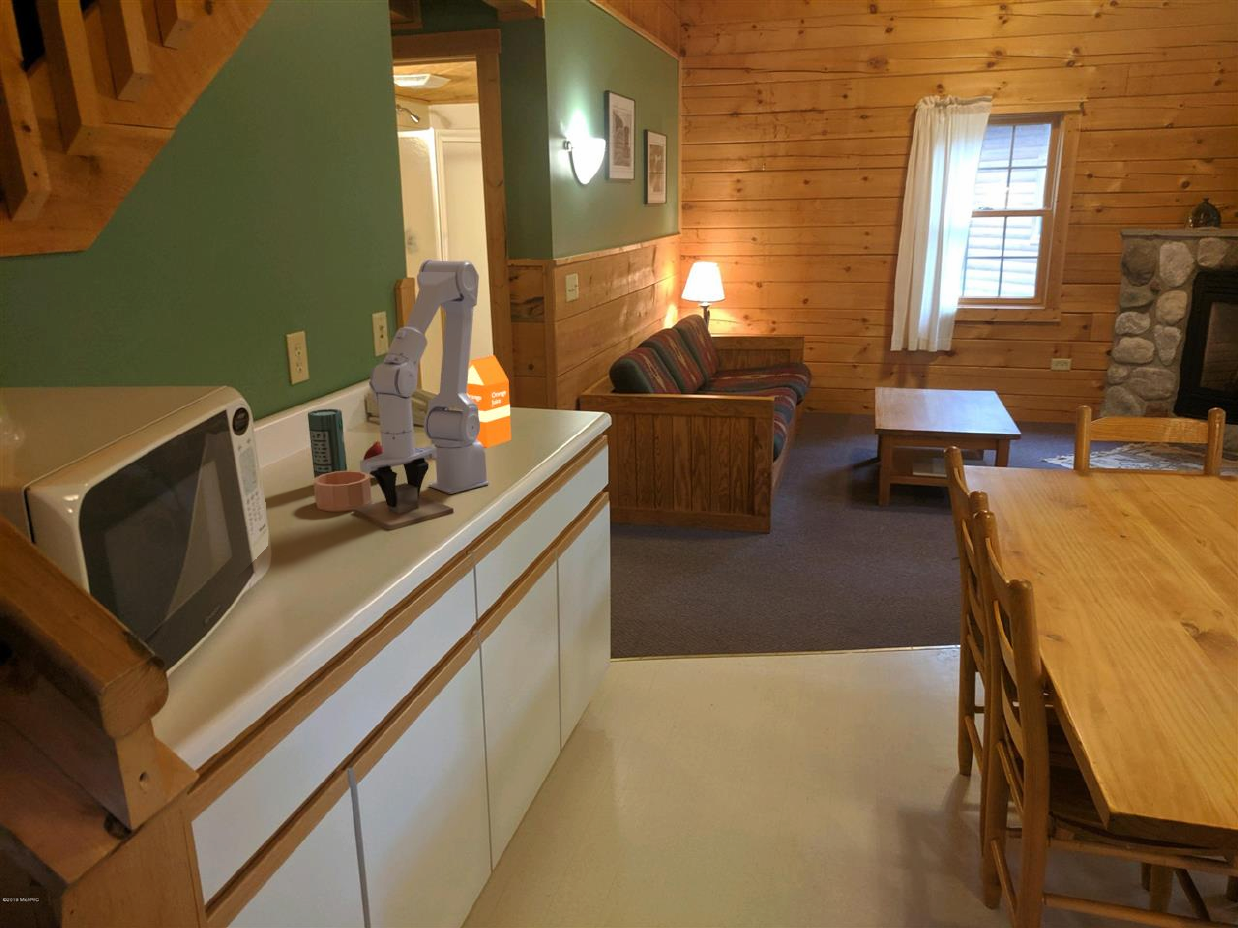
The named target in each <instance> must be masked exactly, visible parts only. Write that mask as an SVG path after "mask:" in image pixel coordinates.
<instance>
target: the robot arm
mask: <svg viewBox="0 0 1238 928" xmlns="http://www.w3.org/2000/svg"><path fill="white" fill-rule="evenodd" d="M479 277H480V276H479V273H478V272H477V270H476V268H475V266H474V264H473V263H472V262H471V261H470V260H433V259H426V260H424V261H423V262H422V264H421V265H420V267H419V270H418V273H417V275H416V283H417V287H418V292H417V295H416V298H415V300H414V303H413V307H412V310H411V311H410V315H409V317H408V321H407V324H406V326H404V327H400V328H398V329H397V331H396V333H395V336H394V337H393V339H392V342H391V344H390V345H389V348H388V350H387V353H386V354H385V357H384V359H383V361H382V362H381V363H379V364H377V365H376V366H375V367H374V368H373V369H372V371H371V373H370V377H369V378H370V379H369V381H368V386H369V389H370V391H371V392H372V394H373V395H374V402H375V405H377V407H378V415H379V428H380V435H381V436H380V438H381V440H380V441H381V446H382V453H383V454H380V455H378V456H375V457H372V458H369V459H366V460H363V459H362V460H360V461H359V467H360V468H359V469H360V470H359V471H361V472H363V473H366V474H367V473H368V474H369V473H371V472H372V474H373V475H374V476H373V477H374V479H375V480H376V481H377V484H378V485H379V487H380V489H381V492H382V493H383V496H384V499H385V500H384V501H386V503H387V505H388V506H390V507H396V492H395V485H397V484H396V482H397V476H398V473H397V472H395V471H393V468H392V467H397V466H400V465H403V468H404V472H405V476H406V481H407V482H406V483H407V484H409V485H412V486H414V487H417V493H418V499H419V495H420V493H421V487H422V484H423V481H424V479H425V476H426V474H427V471H428V470H429V468H430V467H429V462H428V461H426V460H428V459H431V460H432V459H433V460H434V459H435V470H436V481H434V482H430V483H428V487H431V488H434V489H435V490H439V491H441V492H444V493H445V494H450V495H451V494H452V495H453V494H455V493H460V492H464V491H468V490H471V489H475V488H479V487H483V486H487V485H489V484H490V482H489V481H488V479H487V478H488V477H487V462H486V461H487V459H486V452H485V447H483V445H482V444H481V442H480V441H478V440H476V438H477V437H478V435H479V432H480V420H479V414H478V409H479V407H478V405H477V404H476V403H475V402H474V401H473V400H471V399H470V398H469V397H468V396H467V386H468V373H469V363H470V361H471V360H470V359H471V344H472V331H473V322H474V321H473V320H474V319H473V317H474V307H476V306H477V305H478V293H479V283H480V281H479V279H480V278H479ZM440 307H441V308H442V309H443V311H444V312H445V318H444V319H445V321H444V331H443V332H444V334H443V342H442V343H443V344H442V345H443V347H442V359H441V372H440V383H439V385H440V386H439V393H437V395H435V396H434V397H433V398H431V399H430V400H429V401H428V403H427V404H428V405H427V410H426V411H427V412H426V413H425V417H424V419H423V431H424V434H425V436H426V437H427V438H428V439H429V440H430V443H431V445H434V446H431V445H430V446H423V447H415V446H416V445H415V432H414V430H415V429H414V420H413V419H414V417H413V405H412V403H413V402H412V395H413V394H414V393H415V391H416V389H417V388H418V374H419V368H418V366H419V364H420V363H421V362H420V361H421V360H422V357H423V355H424V352H425V350H426V347H427V345H428V340H427V337H426V335H425V334H426V332H427V331H428V329H429V327H430V325H431V323H432V321H433V320H434V317H435V316H436V315H437V312H438V310H439V309H440ZM447 408H448V409H447ZM450 408H456V409H459V410H454V409H452V410H451V409H450ZM390 467H391V469H390Z"/></svg>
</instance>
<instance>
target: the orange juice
mask: <svg viewBox="0 0 1238 928" xmlns="http://www.w3.org/2000/svg"><path fill="white" fill-rule="evenodd" d="M509 381H510V380H509V379H508V377H507V375H506V374H505V371H504V369H503V368H502V365H500V362H499V361H498V358H496V355H489V356H485V357H482V358H481V357H480V358H477V359H476V358H475V359H471V360H469V373H468V386H467V396H468V397H469V398H470V399H471V400H473V401H474V402H475V403H476V404H477V405H478V407H479V409H478V414H479V420H480V432H479V435H478V437H477V438H476V440H478V441H480V442H481V444H482V445H483V448H490V447H492V446H493V447H494V446H495V445H499V444H501V443H505V442H508V441H511V440H512V431H511V404H510V387H509V385H510V384H509Z"/></svg>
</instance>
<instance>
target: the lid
mask: <svg viewBox="0 0 1238 928" xmlns="http://www.w3.org/2000/svg"><path fill="white" fill-rule="evenodd" d="M395 492H396V507H390V506H388V505H387V503H386V500H382V501H378V502H374V503H370V504H369V505H366V506H362V507H358V508H354V509H353V510H352V511H353V514H355V515H356V516H359V517H361V518H363V519H366V520H367V521H369V522H372V523H374V524H376V525H378V526H380V527H382V528H385V529H386V530H388V531H393V530H396V529H400V528H404V527H407V526H411V525H415V524H418V523H421V522H425V521H429V520H433V519H437V518H442V517H444V516H449V515H451V514H454V508H453V507H450V506H448V505H445V504H444V503H440V502H438V501H435V500H434V499H432V498H429V497H426V496H423V495H420V494H419V499H418V493H417V487H414V486H412V485H409V484H408V483H407V482H405V483H400V484H396V485H395Z"/></svg>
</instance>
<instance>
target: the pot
mask: <svg viewBox="0 0 1238 928" xmlns="http://www.w3.org/2000/svg"><path fill="white" fill-rule="evenodd" d="M313 489H314V490H313V491H314V500H315V504H316V509H318V510H320V511H322V512H323V511H324V512H330V513H331V512H332V513H339V512H350V511H354V510H353V509H354V508H358V507H362V506H366V505H370V504H372V501H373V500H372V488H371V475H370V474H369V473H367V474H366V473H363V472H361V470H351V469H350V470H348V469H347V471H335V472H331V473H326V474H322V475H320V476H318V477H316V478H315V479H313Z"/></svg>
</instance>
